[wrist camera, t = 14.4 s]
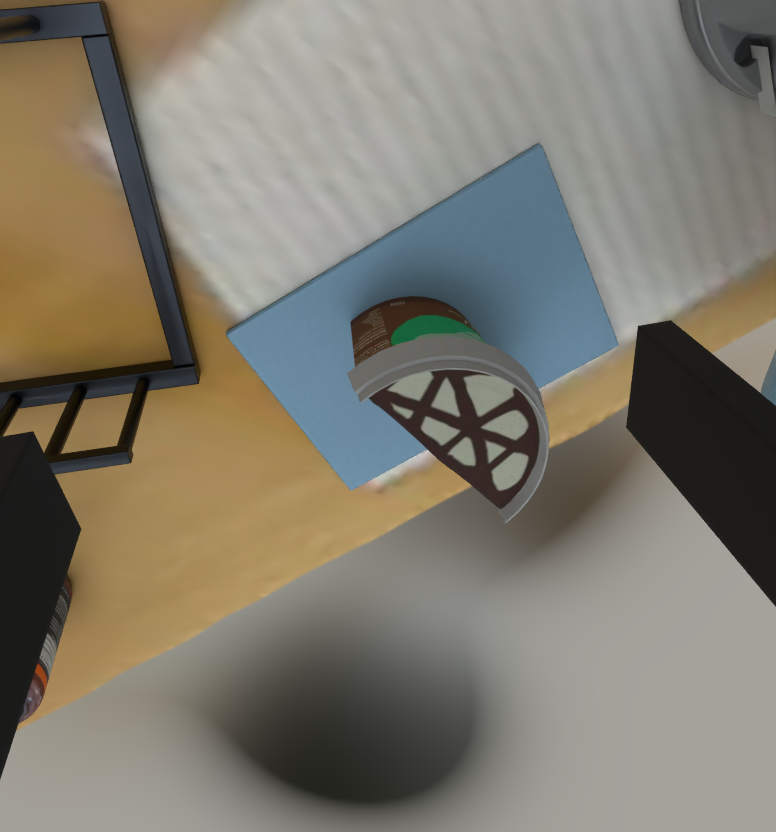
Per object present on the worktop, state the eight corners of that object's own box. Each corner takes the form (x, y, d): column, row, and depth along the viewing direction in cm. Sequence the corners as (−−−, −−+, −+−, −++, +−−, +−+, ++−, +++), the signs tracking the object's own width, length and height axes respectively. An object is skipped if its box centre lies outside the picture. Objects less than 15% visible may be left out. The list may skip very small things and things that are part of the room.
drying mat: (538, 143, 35) (542, 144, 35) (615, 341, 43) (619, 345, 42) (226, 331, 38) (225, 335, 38) (349, 486, 46) (350, 491, 45)
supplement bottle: (-13, 617, 47) (-81, 775, 38) (-27, 555, 44) (-105, 710, 34) (78, 615, 48) (34, 768, 39) (71, 555, 45) (21, 705, 36)
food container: (537, 365, 42) (605, 458, 34) (463, 425, 44) (511, 528, 36) (411, 229, 36) (456, 302, 28) (331, 305, 38) (351, 395, 30)
